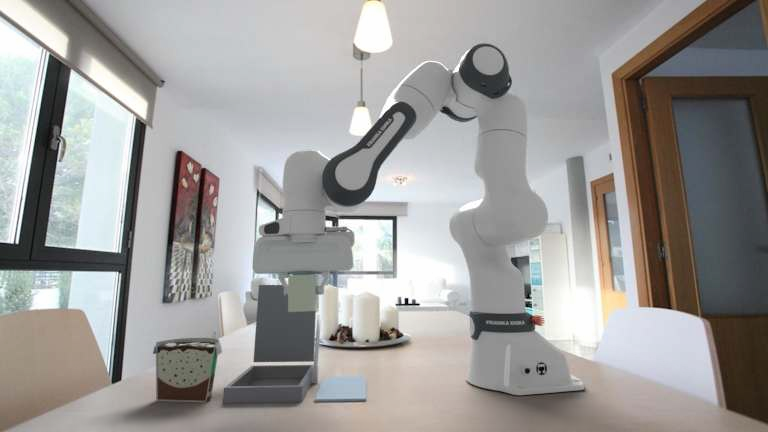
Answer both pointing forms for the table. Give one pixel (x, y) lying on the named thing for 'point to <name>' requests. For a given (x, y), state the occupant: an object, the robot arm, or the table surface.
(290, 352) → the lid
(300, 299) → the module
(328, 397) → the mat
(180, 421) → the table surface
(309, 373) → the case
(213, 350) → the food container
